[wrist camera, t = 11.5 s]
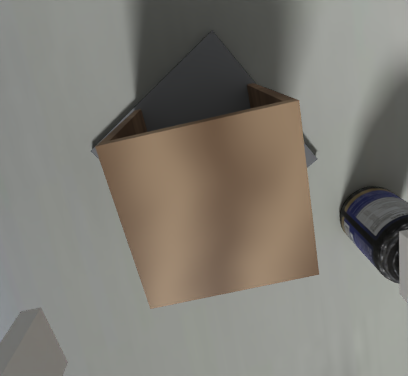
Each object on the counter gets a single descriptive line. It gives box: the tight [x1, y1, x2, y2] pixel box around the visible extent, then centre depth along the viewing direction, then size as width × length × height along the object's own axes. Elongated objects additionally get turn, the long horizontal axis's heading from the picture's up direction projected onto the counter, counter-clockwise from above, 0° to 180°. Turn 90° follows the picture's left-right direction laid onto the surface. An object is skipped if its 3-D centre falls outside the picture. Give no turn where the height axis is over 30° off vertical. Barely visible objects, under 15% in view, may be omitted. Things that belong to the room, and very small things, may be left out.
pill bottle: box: [340, 187, 408, 284], centre depth 30 cm, size 6×6×11 cm
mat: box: [91, 31, 317, 167], centre depth 32 cm, size 15×15×1 cm
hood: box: [95, 83, 319, 309], centre depth 26 cm, size 11×11×13 cm
